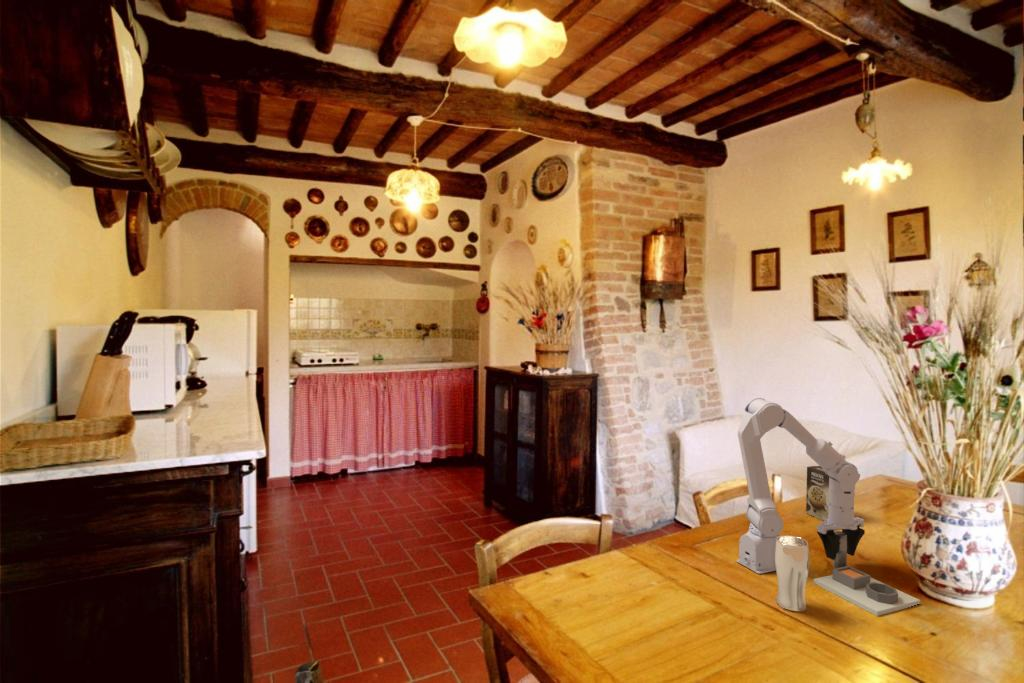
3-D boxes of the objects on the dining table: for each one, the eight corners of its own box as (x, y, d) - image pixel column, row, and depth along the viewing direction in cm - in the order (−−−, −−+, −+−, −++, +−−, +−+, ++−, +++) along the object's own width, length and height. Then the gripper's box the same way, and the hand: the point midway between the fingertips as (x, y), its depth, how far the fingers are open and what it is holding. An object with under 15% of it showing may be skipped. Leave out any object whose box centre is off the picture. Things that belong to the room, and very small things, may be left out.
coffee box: (804, 513, 181) (805, 466, 180) (819, 511, 183) (820, 464, 182) (828, 523, 172) (829, 473, 172) (843, 521, 174) (844, 472, 173)
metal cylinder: (841, 570, 140) (841, 536, 139) (830, 565, 142) (831, 532, 142) (849, 568, 141) (850, 534, 140) (838, 563, 143) (839, 530, 143)
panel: (877, 616, 118) (877, 600, 118) (813, 582, 133) (813, 569, 133) (920, 604, 123) (920, 589, 123) (854, 573, 138) (854, 560, 138)
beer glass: (790, 615, 118) (791, 548, 118) (767, 599, 125) (768, 536, 124) (815, 610, 120) (816, 545, 120) (791, 595, 127) (792, 533, 126)
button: (852, 583, 129) (852, 578, 129) (839, 576, 132) (839, 571, 132) (863, 580, 130) (863, 575, 130) (849, 574, 133) (849, 569, 133)
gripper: (834, 513, 135) (833, 567, 135) (875, 506, 140) (874, 558, 140) (810, 504, 141) (809, 555, 142) (850, 498, 146) (849, 547, 147)
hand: (840, 556), depth 141 cm, fingers open, 6 cm apart
